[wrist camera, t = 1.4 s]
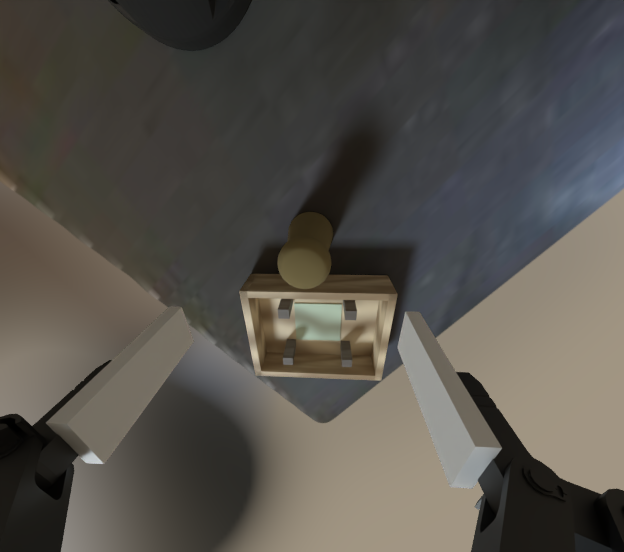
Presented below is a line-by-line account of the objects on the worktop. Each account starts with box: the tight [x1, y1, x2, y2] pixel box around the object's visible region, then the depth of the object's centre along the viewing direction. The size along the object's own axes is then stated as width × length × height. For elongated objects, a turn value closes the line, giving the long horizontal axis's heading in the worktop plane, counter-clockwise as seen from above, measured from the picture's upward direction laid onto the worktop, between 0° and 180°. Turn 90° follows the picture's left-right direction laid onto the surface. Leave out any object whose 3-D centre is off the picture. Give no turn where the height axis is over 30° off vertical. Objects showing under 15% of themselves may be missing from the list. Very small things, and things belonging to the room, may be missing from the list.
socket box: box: [239, 274, 398, 380], centre depth 34 cm, size 16×20×5 cm
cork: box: [277, 212, 333, 289], centre depth 25 cm, size 6×6×11 cm
